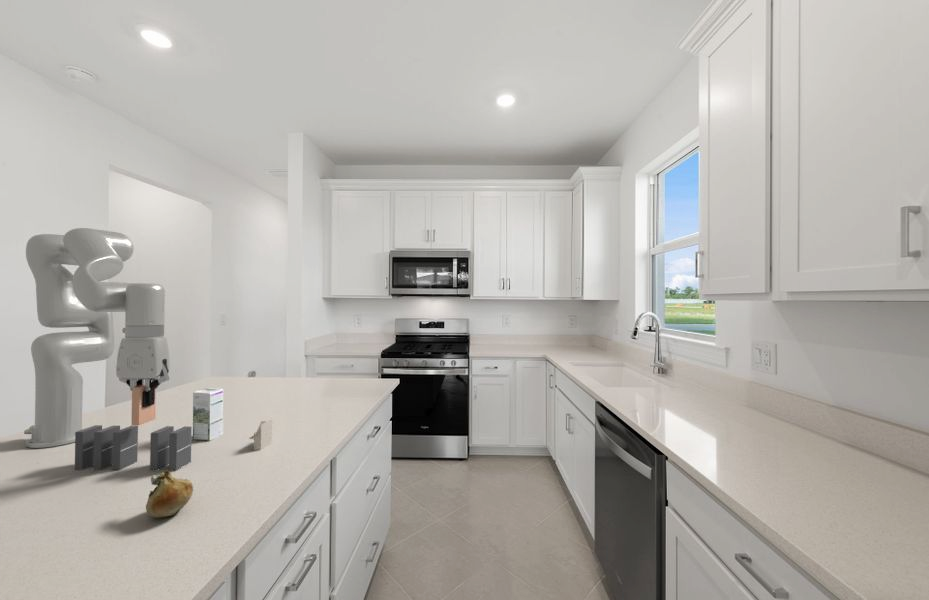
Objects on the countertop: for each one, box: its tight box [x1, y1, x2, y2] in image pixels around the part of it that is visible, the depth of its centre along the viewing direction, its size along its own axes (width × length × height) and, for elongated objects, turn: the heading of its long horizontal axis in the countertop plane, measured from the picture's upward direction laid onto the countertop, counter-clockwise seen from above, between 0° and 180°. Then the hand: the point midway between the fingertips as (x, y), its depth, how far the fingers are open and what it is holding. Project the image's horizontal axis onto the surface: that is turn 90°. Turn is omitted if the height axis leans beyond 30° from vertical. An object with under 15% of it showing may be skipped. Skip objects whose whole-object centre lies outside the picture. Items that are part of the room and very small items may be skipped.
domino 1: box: [74, 424, 103, 471], centre depth 95 cm, size 2×5×9 cm, turn 0°
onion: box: [145, 469, 194, 519], centre depth 74 cm, size 8×8×8 cm
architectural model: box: [248, 418, 274, 451], centre depth 110 cm, size 3×7×7 cm, turn 177°
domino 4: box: [130, 384, 157, 426], centre depth 95 cm, size 2×5×9 cm, turn 1°
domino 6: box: [168, 426, 192, 471], centre depth 95 cm, size 2×5×9 cm, turn 0°
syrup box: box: [192, 387, 224, 442], centre depth 115 cm, size 6×6×14 cm
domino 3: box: [111, 425, 139, 471], centre depth 95 cm, size 2×5×9 cm, turn 0°
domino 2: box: [93, 425, 121, 471], centre depth 95 cm, size 2×5×9 cm, turn 0°
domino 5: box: [149, 425, 175, 471], centre depth 95 cm, size 2×5×9 cm, turn 0°
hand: (143, 405), depth 95 cm, fingers closed on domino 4, 1 cm apart
